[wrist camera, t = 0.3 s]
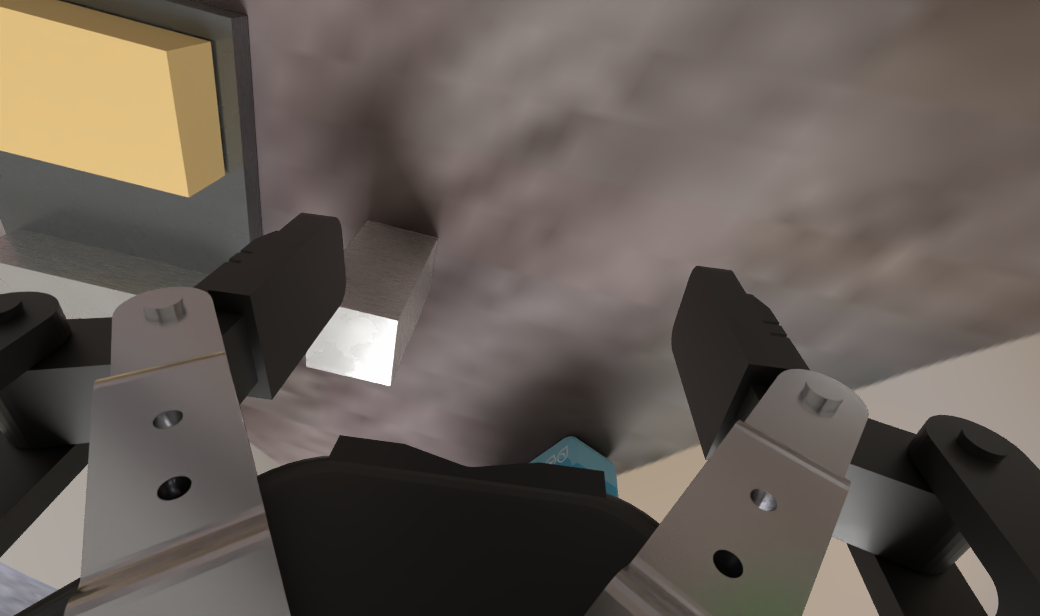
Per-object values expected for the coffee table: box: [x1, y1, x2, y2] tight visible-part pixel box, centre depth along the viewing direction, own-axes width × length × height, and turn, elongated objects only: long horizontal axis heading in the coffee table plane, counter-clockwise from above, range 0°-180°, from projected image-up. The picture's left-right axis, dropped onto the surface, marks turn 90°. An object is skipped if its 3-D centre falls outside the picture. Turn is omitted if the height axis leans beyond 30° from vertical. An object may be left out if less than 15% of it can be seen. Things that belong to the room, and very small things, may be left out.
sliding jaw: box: [0, 0, 225, 197], centre depth 25 cm, size 7×14×3 cm, turn 76°
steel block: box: [306, 220, 438, 386], centre depth 29 cm, size 4×4×9 cm
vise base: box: [0, 0, 262, 319], centre depth 28 cm, size 20×16×5 cm
